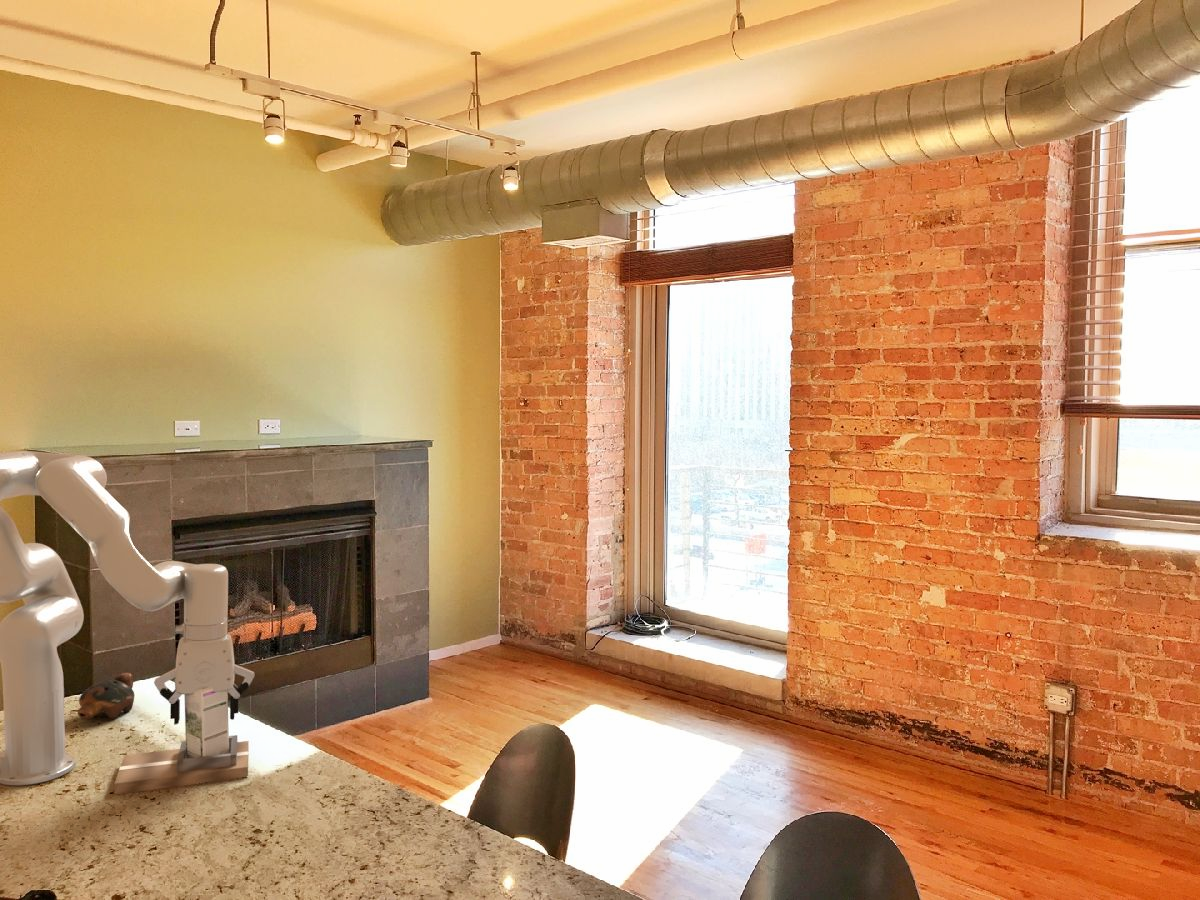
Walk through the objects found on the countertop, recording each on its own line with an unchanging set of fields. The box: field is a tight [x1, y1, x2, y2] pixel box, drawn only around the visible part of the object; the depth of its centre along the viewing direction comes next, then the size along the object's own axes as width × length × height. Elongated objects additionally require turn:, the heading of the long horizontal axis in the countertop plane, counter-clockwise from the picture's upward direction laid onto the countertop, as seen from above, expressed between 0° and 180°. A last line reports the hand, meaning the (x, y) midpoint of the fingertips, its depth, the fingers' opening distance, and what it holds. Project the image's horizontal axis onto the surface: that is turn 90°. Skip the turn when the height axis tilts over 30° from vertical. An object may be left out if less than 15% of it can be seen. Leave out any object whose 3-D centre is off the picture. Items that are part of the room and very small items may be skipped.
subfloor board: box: [113, 735, 249, 795], centre depth 169 cm, size 22×13×4 cm, turn 111°
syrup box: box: [184, 687, 230, 759], centre depth 170 cm, size 6×6×14 cm
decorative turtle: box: [77, 672, 135, 721], centre depth 197 cm, size 10×15×8 cm, turn 175°
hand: (204, 719), depth 170 cm, fingers open, 9 cm apart
